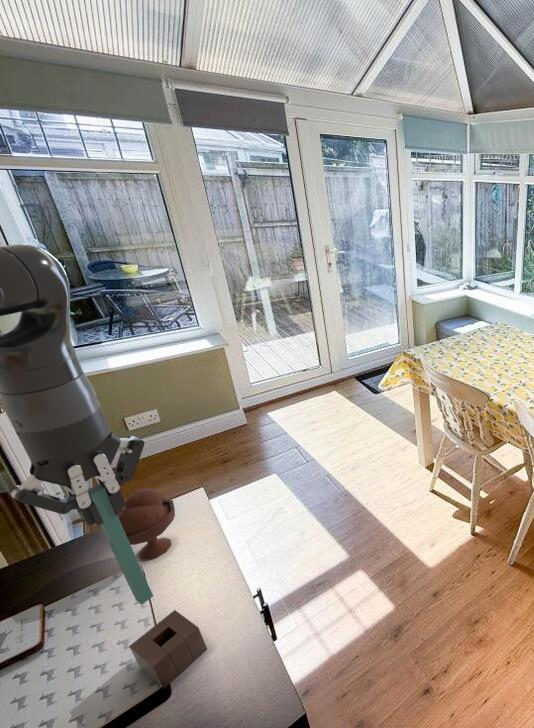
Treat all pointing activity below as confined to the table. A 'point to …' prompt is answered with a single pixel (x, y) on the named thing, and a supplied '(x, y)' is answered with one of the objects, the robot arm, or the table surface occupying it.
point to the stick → (120, 545)
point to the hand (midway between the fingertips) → (106, 517)
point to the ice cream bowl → (147, 521)
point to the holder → (168, 648)
